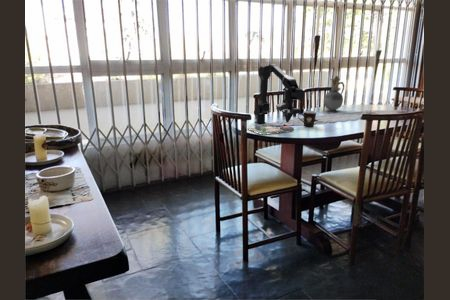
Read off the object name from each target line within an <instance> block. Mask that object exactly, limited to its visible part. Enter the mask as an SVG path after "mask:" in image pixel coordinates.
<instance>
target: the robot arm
mask: <svg viewBox="0 0 450 300" xmlns="http://www.w3.org/2000/svg"><path fill="white" fill-rule="evenodd" d="M272 73H273V74H274V75H275V76H276V77H277V79H279V80H280V82H281V84H282V86H283V89H282V91H284V99H282V102H279V103H277V104H276V105H275V107H276V108H275V109H276V110H277V111H279V112H281V113H283V115H284V118H285V122H286V123H289V122H290V120H291V118H292V117H293V115H298V114H299V115H300V113H302V110H301V108H298V107H295V106H294V103H295V101H303V100H304V99H305V93H304V90H303V89H302V88H300V87H299V85H298V83H297V82H298V81H297V80H296V78H294V77H292V76H290V75H287V74H286V72H284V71H283V70H282V69H281V68H280V67H279V66H278V65H277V64H276V63H275V64H269V65H265V66H262V65H261V66H260V67H259V68H258V77H259V80H260V88H259V89H260V90H259V91H260V92H259V101H258V102H257V104H256V108H255V110H254V111H253V114H254V115H255V116H256V121H254V123H255V124H257V125H261V124H267V122H266V115H268V113H269V111H270V104H271V103H270V102H269V101H268V86H269V85H268V83H269V79H270V77H271V75H272Z"/></svg>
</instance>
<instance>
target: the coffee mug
mask: <svg viewBox="0 0 450 300" xmlns="http://www.w3.org/2000/svg"><path fill="white" fill-rule="evenodd" d="M300 115H301V116H302V117H303V119H301V118H300V117H299V116H300ZM316 115H317V112H316V111H313V110H312V111H311V110H304V111H303V113H302V112H301V113H299V114H297V118H298V119H299V120H300V121H301V122H302V123H303V127H304V126H305V128H314V127H315V121H316Z"/></svg>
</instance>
